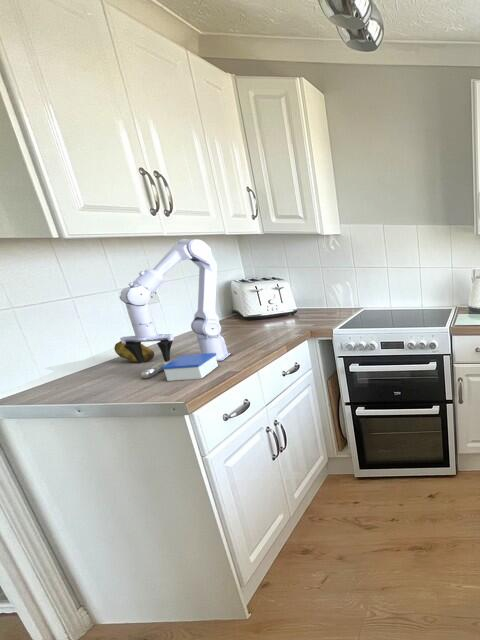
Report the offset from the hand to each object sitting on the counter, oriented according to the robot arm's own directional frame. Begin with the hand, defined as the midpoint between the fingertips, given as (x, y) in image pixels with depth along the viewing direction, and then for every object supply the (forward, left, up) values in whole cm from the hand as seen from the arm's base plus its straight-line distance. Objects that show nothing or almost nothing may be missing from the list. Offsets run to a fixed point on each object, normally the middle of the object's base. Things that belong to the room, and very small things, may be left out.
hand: (154, 361), depth 145 cm
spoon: (0, 0, -4) cm, 4 cm away
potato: (-18, -15, -4) cm, 24 cm away
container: (+5, +13, -4) cm, 15 cm away
